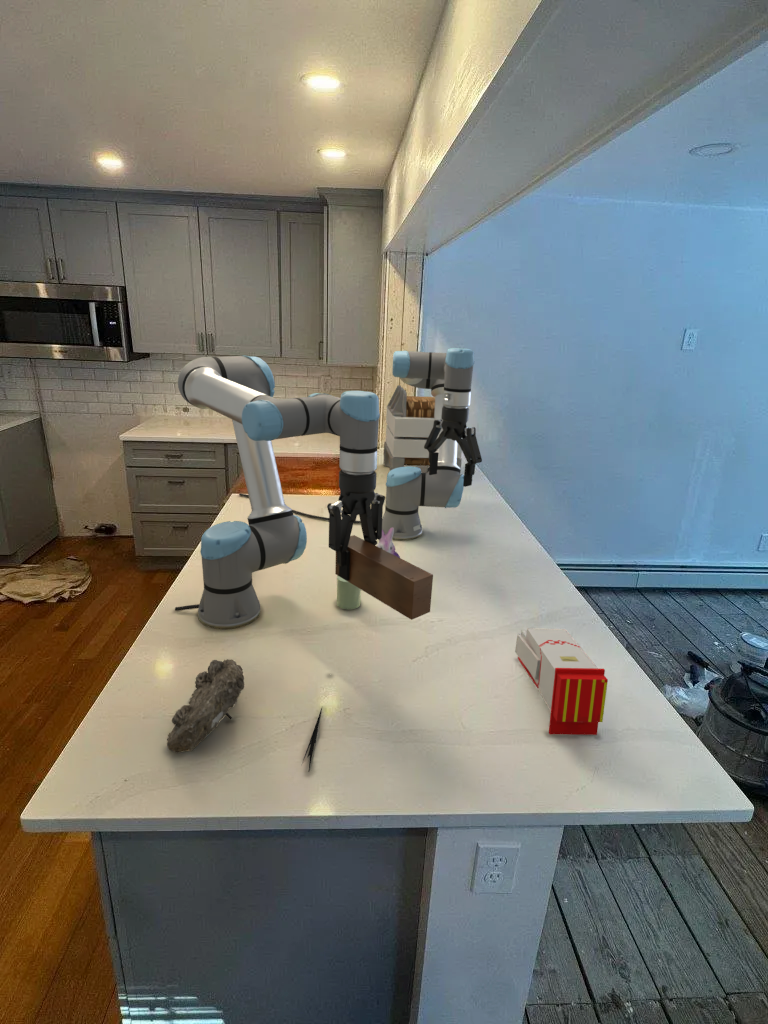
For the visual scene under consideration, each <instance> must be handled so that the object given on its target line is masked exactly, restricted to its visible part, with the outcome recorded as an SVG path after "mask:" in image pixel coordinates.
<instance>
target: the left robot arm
mask: <svg viewBox="0 0 768 1024" xmlns="http://www.w3.org/2000/svg"><path fill="white" fill-rule="evenodd" d="M275 383H276V382H275V378H274V374H273V371H272V369H271V367H270V366H269V365H268V363H267V362H266V361H265V360H263V359H262V358H261V357H258V356H251V355H250V356H249V355H246V354H245V355H244V354H243V355H235V356H234V355H233V356H232V355H230V356H202V357H197V358H195V359H193V360H190V361H189V362H188V363H186V364H185V365H184V366H183V367H182V368H181V370H180V372H179V374H178V377H177V389H178V392H179V393H180V395H181V397H182V399H183V400H185V401H186V402H187V403H188V404H189V405H191V406H193V407H195V408H198V409H201V410H209V409H210V410H211V411H214V412H216V413H218V414H220V415H221V416H224V417H227V418H228V419H231V421H232V425H233V430H234V435H235V439H236V444H237V449H238V453H239V458H240V462H241V468H242V472H243V476H244V482H245V485H246V490H247V495H249V497H248V499H249V504H250V509H251V512H250V513H249V515H248V516H247V522H245V521H241V520H233V521H231V520H228V521H222V522H220V523H216V524H214V525H212V526H210V527H209V528H207V529H206V530H205V531H204V532H203V534H202V535H201V539H200V556H201V568H202V576H203V577H202V579H203V590H202V593H201V598H200V601H199V604H190V605H189V604H188V605H181V606H176V607H174V611H175V612H180V611H187V610H195V609H197V617H198V620H199V622H200V623H201V624H202V625H203V626H205V627H208V628H210V629H214V630H215V629H216V630H232V629H233V630H234V629H238V628H239V629H240V628H243V627H246V626H248V625H250V624H253V622H255V621H257V620H258V618H259V617H260V615H261V612H262V611H261V602H260V600H259V597H258V594H257V592H256V590H255V588H254V586H253V585H254V584H253V573H256V572H258V571H261V570H265V569H269V568H272V567H276V566H280V565H283V564H284V565H286V564H289V563H290V562H292V561H295V560H299V559H300V558H301V557H302V555H303V554H304V552H305V550H306V548H307V542H308V535H307V533H308V532H307V528H306V525H305V523H304V522H303V519H302V518H301V517H300V516H298V515H296V514H294V513H293V511H292V510H293V508H291V507H290V506H288V505H287V504H286V502H285V498H284V493H283V489H282V484H281V480H280V474H279V469H278V465H277V461H276V456H275V450H274V447H273V442H272V441H274V440H275V441H276V440H281V439H288V438H297V437H304V436H312V435H320V434H331V435H334V436H338V437H339V461H338V462H339V463H338V465H339V469H340V470H339V472H338V488H339V491H340V493H339V496H338V500H337V501H336V502H334V503H331V502H330V503H328V504H327V506H326V508H327V511H328V515H329V516H328V518H329V521H328V548H329V549H331V550H333V551H335V553H336V552H337V564H338V565H339V577H341V578H343V579H344V580H346V581H348V580H349V579H350V551H348V550H347V548H348V544H349V540H350V536H352V535H351V534H352V531H353V527H354V524H355V523H354V521H357V518H358V517H357V516H359V521H360V522H361V524H360V526H361V533H362V536H363V537H362V538H363V540H365V541H367V542H369V543H371V544H373V545H375V546H377V545H378V543H379V539H381V537H382V519H383V515H384V513H383V512H384V511H383V510H384V505H385V504H384V503H385V502H386V495H383V494H380V493H378V492H375V490H376V488H377V472H376V470H377V468H378V445H379V444H378V443H379V423H380V416H381V414H380V398H379V396H378V394H376V392H373V391H364V390H346V391H343V392H342V393H341V394H340V397H338V396H335V395H331V394H329V393H326V392H325V393H324V392H323V393H321V392H314V393H311V394H309V395H308V396H305V397H304V396H303V397H292V398H276V397H274V394H275V391H276V390H275V388H276V384H275ZM341 519H342V521H341ZM377 540H378V541H377Z"/></svg>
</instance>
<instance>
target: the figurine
mask: <svg viewBox="0 0 768 1024" xmlns="http://www.w3.org/2000/svg"><path fill="white" fill-rule="evenodd" d="M393 534H394V528H390V530H389V531H388V533H387V534H386V535H385V533H384V531H383V530H382V537H381V539H378V543H377V545H376V546H377V547H379V548H381V549H383V550H385V551H387V552H389V553H391V554H393V555H395V556H397V557H399V558H401V556H400V555H399V553H398V552H397V551H396V545H395V544H394V542H393V539H392V537H393Z"/></svg>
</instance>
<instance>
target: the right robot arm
mask: <svg viewBox="0 0 768 1024" xmlns="http://www.w3.org/2000/svg"><path fill="white" fill-rule="evenodd" d="M392 355H393V356H392V376H393V377H395V378H399V379H400V381H401V382H403V383H404V384H405V385H408V386H411V387H414V388H417V389H424V390H430V395H431V397H434V398H435V410H434V424H433V428H432V430H431V433H430V435H429V437H428V439H427V441H426V443H425V445H424V449H427V450H428V452H429V463H430V465H428V466H427V468H426V472H422V469H421V468H420V467H419V466H418V467H417V466H407V465H405V466H404V467H399V468H395V469H393V470H391V471H390V470H389V471H388V473H387V475H386V482H385V486H386V488H385V489H386V490H385V504H384V505H385V507H384V508H385V509H384V513H383V514H382V530H383V531H384V533H385V535H386V534H387V533H388V531H389V530H390V528H394V534H393V537H392V540H395V541H410V540H415V539H418V538H420V537H421V536H422V535H423V525H422V524H421V518H420V515H419V507H425V508H426V507H427V508H430V507H431V508H444V509H448V508H449V509H450V508H452V509H455V508H457V507H459V506H460V504H461V501H462V498H463V493H464V487H471V486H472V484H473V476H474V475H475V473H476V465H477V464H479V463H482V462H483V457H482V454H481V451H480V447H479V442H478V439H477V436H476V434H477V433H476V431H477V429H476V427H475V426H472V427H468V426H467V423H468V421H469V417H470V408H469V407H470V406H471V396H472V383H473V373H474V365H475V351H474V350H473V349H471V348H464V347H463V348H461V347H450V348H448V349H447V350H446V352H436V351H435V352H432V351H429V352H427V351H411V350H410V351H409V350H396V351H394V352H393V354H392ZM457 443H458V444H459V445H460V447H461V449H462V454H463V456H464V458H465V460H466V462H467V463H465V464H464V471H463V473H461V472H462V468H461V469H460V468H459V467H458V466H457ZM238 496H239V497H244V498H245V497H246V498H249V495H248V494H245V493H241V492H240V493H238ZM292 511H293V514H295V515H296V514H297V515H299V516H304V517H307V518H312V519H316V520H323V521H328V522H329V517H326V516H319V515H313V514H310V513H306V512H301V511H299V510H295V509H292ZM341 521H342V518H341ZM353 524H360V525H361V522H360V520H355V521H354V523H353Z"/></svg>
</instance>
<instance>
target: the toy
mask: <svg viewBox="0 0 768 1024" xmlns="http://www.w3.org/2000/svg"><path fill="white" fill-rule="evenodd" d="M520 632H521V633H520V634H519V633H518V634H517V635H516V642H515V647H514V653H515V654H516V655H517V660H518V661H519V663H520V664H521V666H522V667H523V669H524V670H525V672H526V673H527V675H528V676H529V678H530V680H531V681H532V683H533V684H534V685H535V687H536V688H537V689H538V692H539V694H540V696H541V697H542V699H543V701H544V702H545V704H546V706H547V708H548V710H549V711H550V716H549V724H548V734H549V735H566V736H567V735H568V736H569V735H571V736H575V735H576V736H597V735H598V730H599V723H603V722H604V714H605V705H606V698H607V689H608V682H609V680H608V678H607V677H606V676H605V674H606V669H604V668H599V667H598V666H597V664H596V663H594V662H593V660H592V659H591V657H589V655H588V654H587V653H586V652H585V650H584V649H583V648H582V647H581V646H580V644H579V643H578V642H577V641H576V640H575V639H574V637H573V636H572V635H571V634H570V632H569V631H568V630H567V629H566V628H535V627H534V628H533V627H532V628H531V627H529V628H526V630H523V629H521V631H520Z"/></svg>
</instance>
